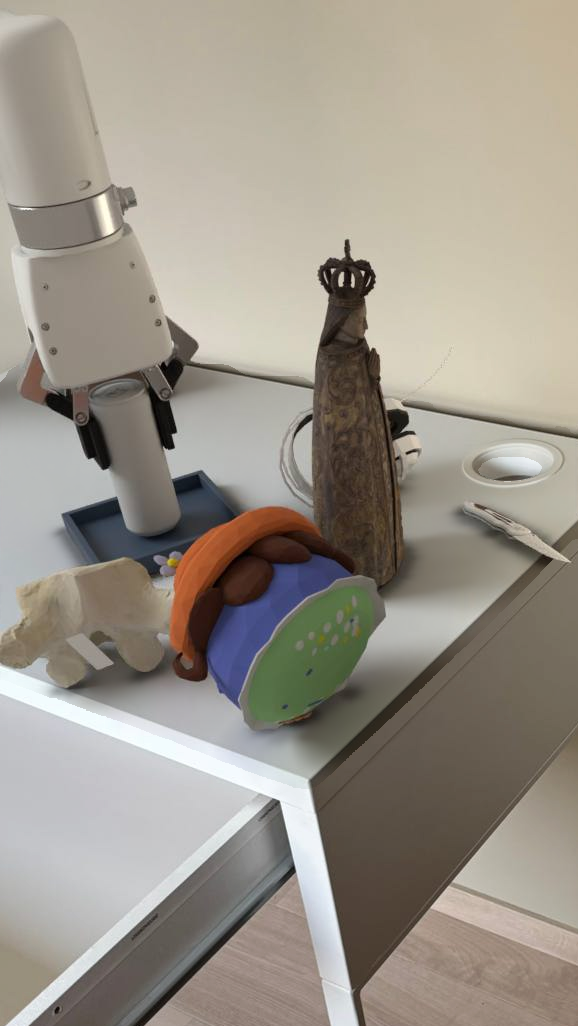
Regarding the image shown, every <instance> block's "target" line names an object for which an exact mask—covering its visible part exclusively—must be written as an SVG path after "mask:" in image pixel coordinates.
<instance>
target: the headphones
mask: <svg viewBox="0 0 578 1026" xmlns="http://www.w3.org/2000/svg"><path fill="white" fill-rule="evenodd" d="M454 347H455V343H453V344H452V346H451V348H450V349H449V352H448V354H447V356H446V357H445V359H444V360H443V362H442V364H440V367H438V368H437V370H436V371H435V372H434V373H433V374H431V376H430V378H428V379H427V380H426V381H425V382H424V383H422V384H421V385H420V386H419V387H417V388H416V389H415V390H414V391H412V392H410V393H409V394H408V395H406V396H405V397H404V398H402V399H400V400H399V399H396V398H393V397H386V398H385V397H384V402H385V407H386V410H387V417H388V420H389V424H390V432H391V436H392V440H393V447H394V451H395V461H396V465H397V473H398V483H399V485H400V484H401V483H403V481H405V480H406V478H407V474H408V472H409V471H410V470H411V469H412V468H413V467H414V466H415V465H416V463H417V462H418V458H419V457H420V455H422V445H421V442H420V441H419V438H418V435H417V434H416V432H415V430H408V429H407V430H405V429H406V427H408V425H409V424H410V415H409V413H408V411H407V409H406V408H405V407H404V405H403V404H402V402H403V401H405V400H406V399H408V398H409V397H410V396H412V395H414V394H415V393H417V392H418V391H419V390H420V389H422V387H424V386H425V385H426V384H427V383H428V382H430V381H432V379H433V378H434V377H435V376H436V374H437V373H438V372H440V370H441V369H442V368H443V366H444V365H445V363H446V362H447V361H448V359H449V358H450V355H451V354H452V351H453V349H454ZM303 414H304V416H302V417H301V415H303ZM300 417H301V418H300ZM312 421H313V406H311V407H308V408H306V409H304V410H301V411H300V412H298V413H297V415H296V416H295V417H294V418H293V419H292V421H291V422H290V423H289V424H288V426H287V428H286V431H285V433H284V435H283V439H282V441H281V446H280V448H279V460H278V461H279V462H278V469H279V471H280V475H281V477H282V480H283V483H284V484H285V486H286V487H287V489H288V490H289V492H291V494H292V496H293V497H294V498H296V499H298V501H300V502H302V503H303V504H304V505H306V506H307V507H308V508H311V509H314V506H313V504H310V503H308V502H307V501H306V500H305V499H304V498H302V497H300V496H299V495H298V494H297V493H295V491H294V489H293V488H292V487H291V485H290V484H289V482H288V481H287V478H288V479H289V481H290V482H291V483H292V485H293V487H294V488H295V489H296V490H297V491H299V492H300V493H301V494H303V495H304V496H306V497H307V498H308V499H310V500H311V501H313V486H312V484H311V483H310V482H308V481H307V480H306V479H305V477H304V475H303V474H302V473H301V471H300V469H299V468H298V465H297V461H296V459H295V454H294V441H295V438H296V437H297V435H298V433H299V432H300V431H301V430H302V429H303V428H304V427H305V426H306V425H308V424H309V423H311V422H312ZM292 431H293V432H292ZM291 432H292V435H291V438H290V441H289V445H288V451H287V463H288V468H289V471H290V473H291V475H290V473H289V471H288V468H287V464H286V462H285V445H286V442H287V439H288V437H289V435H290V433H291ZM282 467H283V468H282ZM283 469H284V470H283ZM285 474H286V476H287V478H286V476H285Z"/></svg>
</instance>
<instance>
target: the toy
mask: <svg viewBox="0 0 578 1026" xmlns="http://www.w3.org/2000/svg"><path fill="white" fill-rule="evenodd" d="M154 561H155V562H156V563H157V564H158V565H161V566H162V567H161V569H160V571H159V572H160V575H162V576H164V577H166V578H169V577H174V579H173V584H172V585H173V589H174V592H175V594H174V600H173V606H172V611H171V617H170V636H169V645H170V646H171V647H172V649H173V650H174V651H175V652H176V653H177V654H176V656H175V657H174V658H173V660H172V664H171V666H172V669H173V672H174V674H175V675H176V676H177V677H178V678H179V679H183V680H184V681H185V680H186V681H189V682H195V683H200V682H202V681H206V680H207V678H208V675H209V674H210V675H211V677H212V679H213V681H214V682H215V684H216V688H217V690H218V693H219V695H221V694H223V695H224V696H225V697H226V698H227V699H228V700H229V701H230V702H231V703H232V704H233V705H234V706H235V707H236V708H237V709H238V710H239V711H241V715H242V719H243V722H244V724H245V725H246V726H247V728H249V730H251V731H256V732H257V731H261V730H262V731H263V730H267V729H269V730H270V729H271V730H277V729H278V728H280V727H281V726H282V725H284V724H290V723H293V722H294V721H295V722H298V721H300V720H302V719H306V718H310V716H311V715H312V713H313V710H314V709H315V708H316V707H317V706H319V705H320V704H322V703H323V702H325V701H326V700H327V699H329V698H331V696H333V695H335V694H337V693H339V692H340V691H342V690H345V688H346V686H347V684H348V682H349V680H350V678H351V676H352V674H353V672H354V670H355V668H356V667H357V664H358V663H359V662H360V659H361V658H362V656H363V654H364V652H365V651H366V649H367V647H368V642H369V639H370V638H371V636H372V635H373V634H374V632H375V631H376V630H377V628H378V627H379V626H380V625H381V623H383V622H384V620H385V619H386V618H387V614H386V604H385V601H384V600H383V598H382V597H381V596H380V594H379V593H378V588H377V584H376V582H375V581H374V580H373V579H371V578H368V577H364V576H361V575H357V576H353V573H354V572H355V568H356V565H355V564H354V562H353V560H352V558H351V557H350V556H349V555H347V554H346V553H345V552H343V551H342V550H340V549H337V548H334V547H333V545H332V544H331V543H330V542H329V541H328V540H326V539H324V538H323V537H322V535H321V533H320V531H319V530H318V528H317V527H316V526H315V523H313V522H312V521H311V520H309V518H307V517H306V516H304V514H301V513H300V512H298V511H296V510H294V509H292V508H288V507H284V506H277V505H275V506H274V505H273V506H272V505H268V506H264V507H260V508H255V509H250V510H247V511H245V512H243V513H242V515H240V516H238V517H237V518H235V519H234V520H232V521H230V522H229V523H225V524H223V525H220V526H218V527H215V528H213V529H211V530H210V531H208V532H207V533H206V534H204V535H203V536H202V537H200V538H199V539H197V540H196V541H195V542H194V543H193V545H192V546H191V547H190V548H189V549H188V550H187V552H186V553H185V554H184V555H182V554H181V553H180V552H176V551H174V552H172V553H171V554H170V555H169V560H168V559H167V558H166V557H164V556H160V555H156V556H154ZM65 640H66V641H67V642H68V643H69V644H70V645H71V646H72V647H73V648H74V649H76V650H77V651H78V652H79V653H80V654H81V655H82V656H83V657H84V658H85V659H86V660H87V661H88V664H90V665H91V666H92V667H93V668H94V669H95V670H96V671H99V670H103V669H105V668H107V667H109V666H112V665H114V664H115V663H114V661H113V660H112V659H110V658H109V657H108V656H107V654H105V653H104V651H102V650H101V649H100V648H99V647H98V646H97V647H96V646H95V645H94V644H93V643H92V642H91V641H90V640H89V639H88V638H87V637H86V636H85V635H84V634H83V633H80V634H78V635H75V636H73V637H70V638H67V639H65ZM181 658H183V659H184V660H185V661H186V662H188V663H192V664H191V665H192V666H191V667H190V668H187V667H185V666H184V665H183V664H182V661H181ZM215 697H218V695H217V696H215Z"/></svg>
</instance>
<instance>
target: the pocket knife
mask: <svg viewBox="0 0 578 1026" xmlns="http://www.w3.org/2000/svg"><path fill="white" fill-rule="evenodd" d="M462 511H463V513H464V514H465V515H467V516H470V517H473V518H475V519H477V520H480V521H481V522H483V523H485V524H487V525H488V526H489V527H490V528H491V529H492V530H494V531H499V532H502V533H504V534H505V536H506V537H507V539H508V540H511V541H513V540H514V541H515V540H518V541H519V542H521V543H523V544H524V545H526V546H528V547H530V548H532V549H533V550H535V551H537V552H539V553H540V554H543V555H544V556H546V557H549V558H552V559H553V560H554V559H555V560H557V561H561V562H565V563H570V564H572V562H571V561H570V560H569V559H568V558H567V557H566V556H564V555H563V554H562V553H560V552H559V551H557V550H556V549H555V548H553V547H552V546H550V545H549V544H547V543H545V542H544V541H543V540H542V539H541V538H539V537H538V535H536V534H533V533H532V531H531V530H530V529H529V528H527V527H526V526H523V525H522V524H520V523H518V522H517V521H514V520H512V518H510V517H507V516H505V515H503V514H502V513H499V512H497V511H496V510H493V509H492V508H489V507H487V506H484V505H482V504H479V503H475V502H472V501H467V500H466V501H463V502H462Z"/></svg>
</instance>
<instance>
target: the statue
mask: <svg viewBox="0 0 578 1026" xmlns="http://www.w3.org/2000/svg"><path fill="white" fill-rule="evenodd" d="M351 251H352V248H351V243H350V239H349V238H346V239H344V246H343V253H344V257H342V258H341V259H339V258H336V257H331V256H329V257H328V259H326V260H325V262H324V264H320V265H319V269H317V275H316V276H317V278H318V279H317V280H318V281H319V283H320V286H323V289H324V291H325V292H326V293H327V294H328V296H327V297H328V299H327V302H328V303H327V308H326V313H325V318H324V324H323V328H322V331H321V333H320V337H319V343H318V347H317V351H316V357H315V363H314V364H315V365H314V383H313V395H312V407H313V409H312V412H313V420H312V421H311V422H312V423H311V482H312V484H311V486H312V487H313V500H312V505H313V506H314V508H313V518H314V519H313V520H314V525H315V526H316V527H317V528H318V530H319V531H320V533H321V535H322V537H323V538H324V539H326V540H328V541H329V542H330V543H331V544H332V545H333V547H334V548H337V549H340V550H342V551H343V552H345V553H346V554H347V555H349V556H350V557H351V558H352V560H353V562H354V564H355V565H356V568H355V572H354V573H353V576H357V575H361V576H364V577H368V578H371V579H373V580H374V581H375V582H376V584H377V589H378V588H379V587H381V586H383V585H385V584H386V583H387V582H389V580H391V579H392V578H393V577H394V575H395V574H396V573H398V570H399V569H400V567H401V563H402V560H403V559H404V558H405V553H406V549H405V540H404V527H403V515H402V512H403V511H402V501H401V499H402V498H401V490H400V484H399V483H398V473H397V465H396V461H395V451H394V447H393V440H392V436H391V432H390V424H389V420H388V417H387V410H386V407H385V402H384V399H385V397H384V394H383V390H382V385H381V381H382V376H381V375H380V374H381V356H380V354H379V353H378V352H377V349H376V347H371V348H370V345H369V344H368V341H367V338H366V336H365V334H366V331H367V330H369V324H368V321H367V320H368V319H367V312H368V311H367V310H368V309H367V304H366V297H367V296H368V295H369V293H371V291H372V290H374V289H375V284H377V280H376V278H377V275H376V273H375V270H374V269H373V268H372V266H371V262H370V261H367V260H366V259H363V258H360V259H356V260H354V259H353V258H352V256H351ZM332 270H333V271H332ZM362 272H364V273H362ZM342 273H343V281H342V285H341V286H340V285H339V279H340V275H341V274H342ZM352 276H353V278H354V286H352V283H353V281H352Z"/></svg>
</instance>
